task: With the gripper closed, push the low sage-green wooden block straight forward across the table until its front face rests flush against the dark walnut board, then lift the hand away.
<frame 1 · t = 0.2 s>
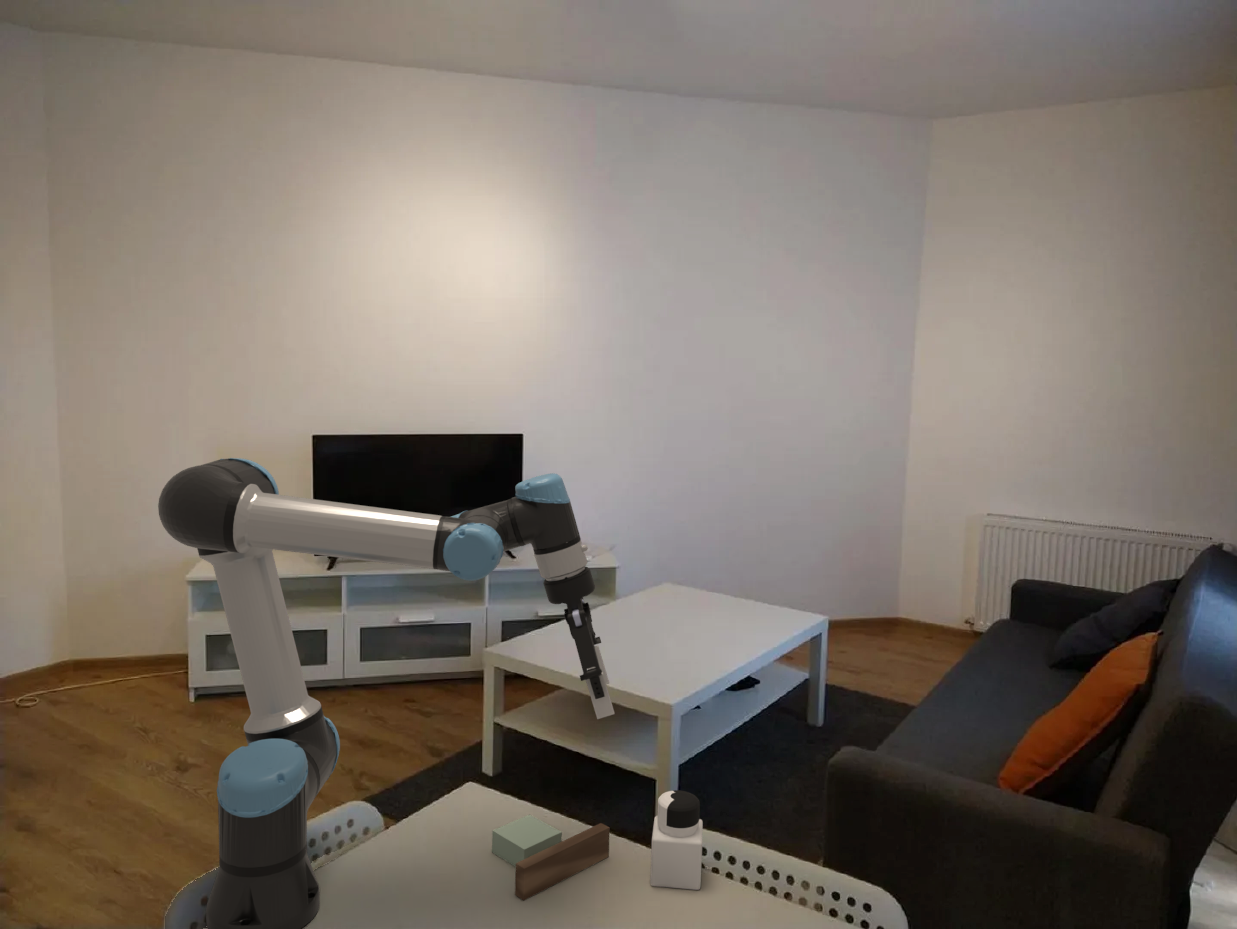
hand: (603, 700, 142), 27 cm above the table, tool tilted 20°, fingers open, 13 cm apart
board: (563, 875, 141), on the table
container: (675, 876, 142), on the table
block: (526, 854, 148), on the table
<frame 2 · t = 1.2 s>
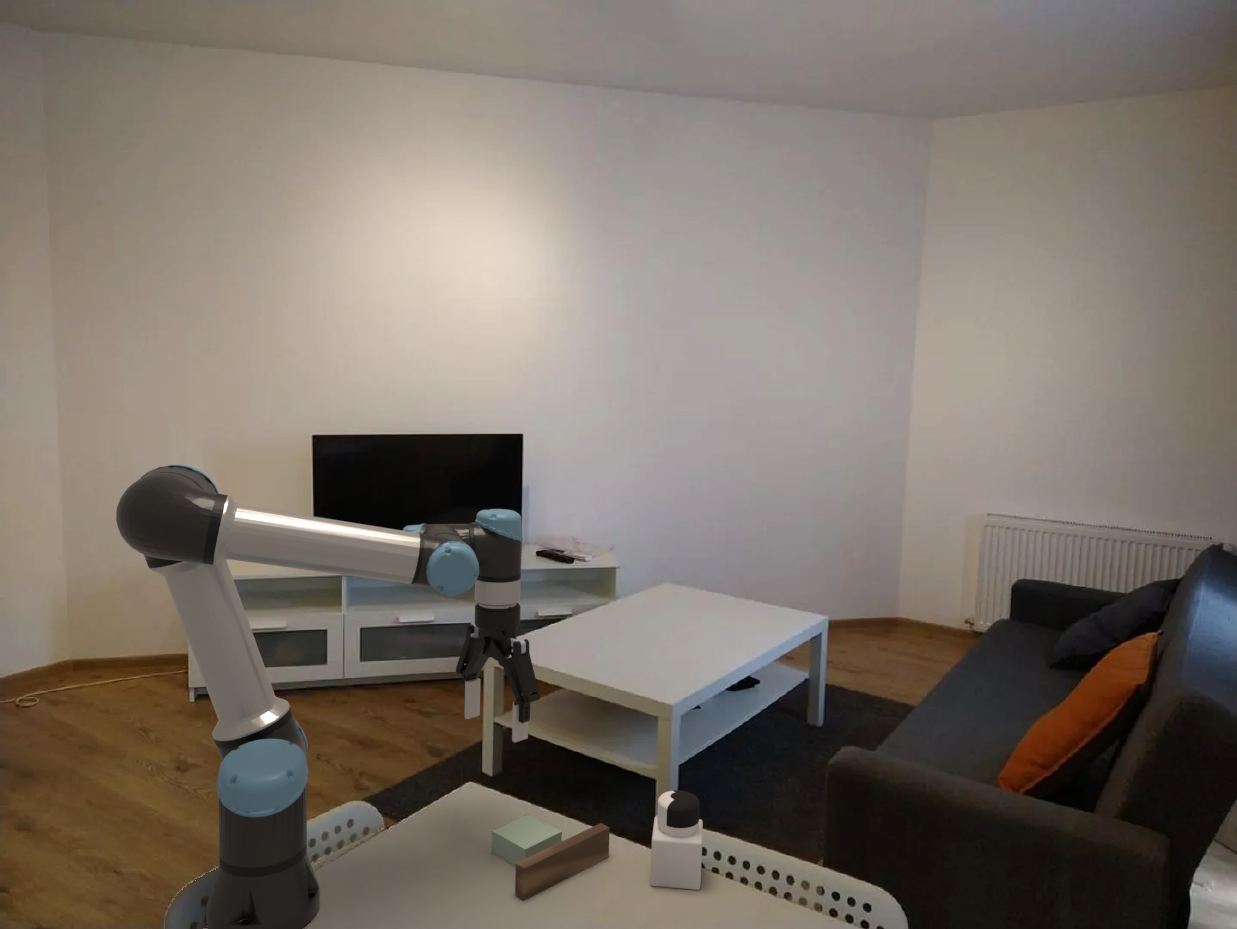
hand: (495, 728, 152), 18 cm above the table, tool pointing down, fingers open, 12 cm apart
nothing on the table moved.
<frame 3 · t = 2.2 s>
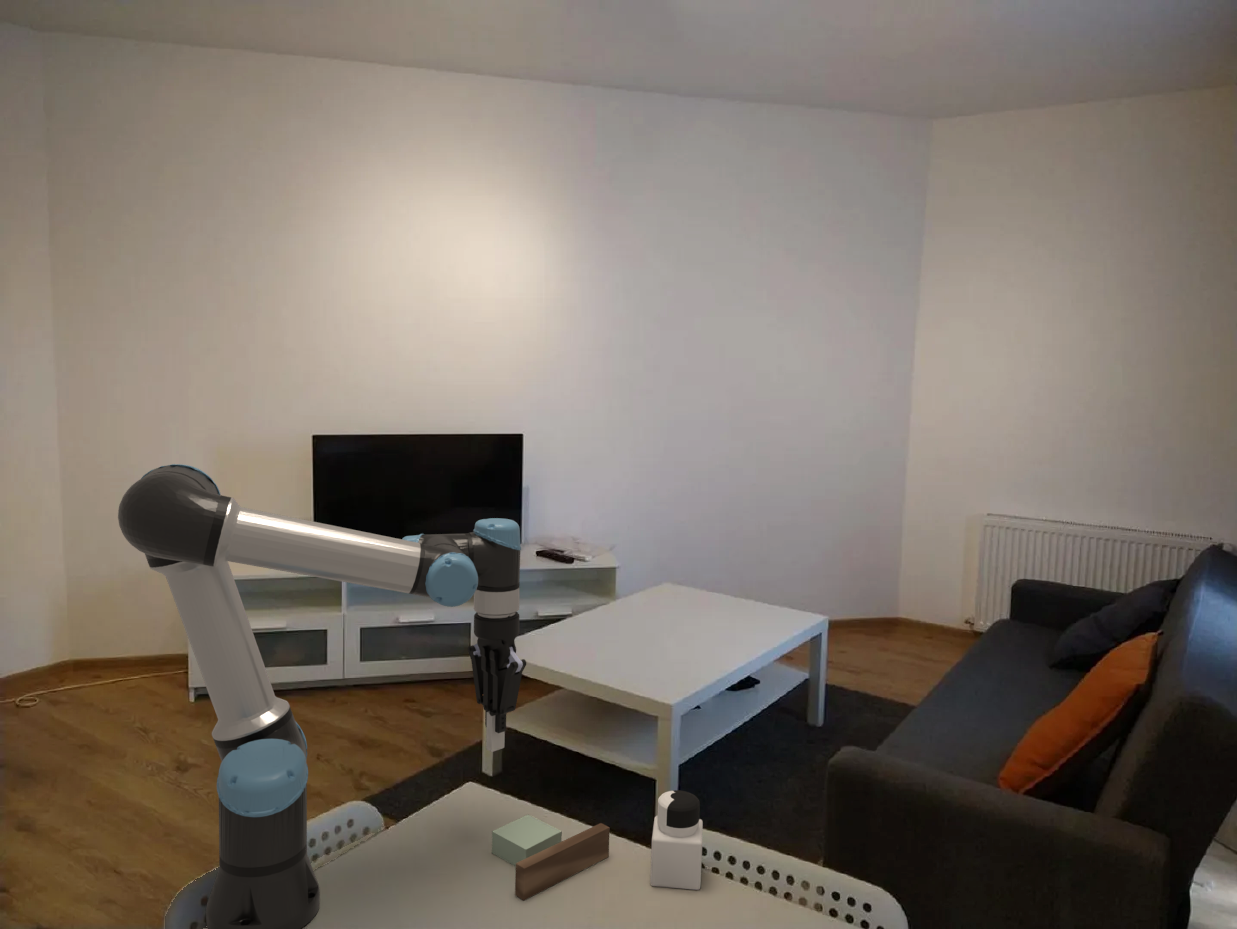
hand: (495, 748, 152), 15 cm above the table, tool pointing down, fingers closed
nothing on the table moved.
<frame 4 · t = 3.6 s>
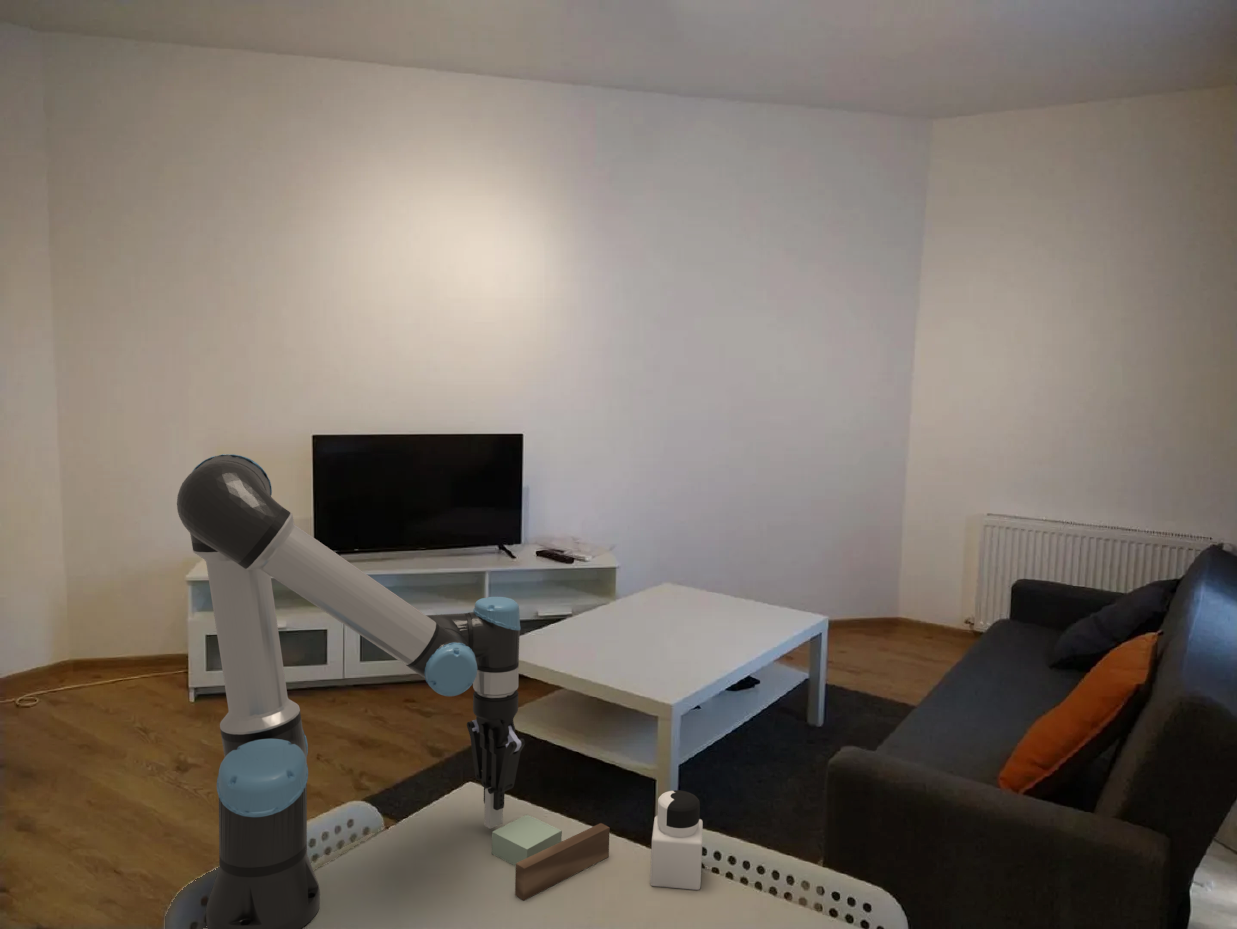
hand: (493, 824, 153), 1 cm above the table, tool pointing down, fingers closed
nothing on the table moved.
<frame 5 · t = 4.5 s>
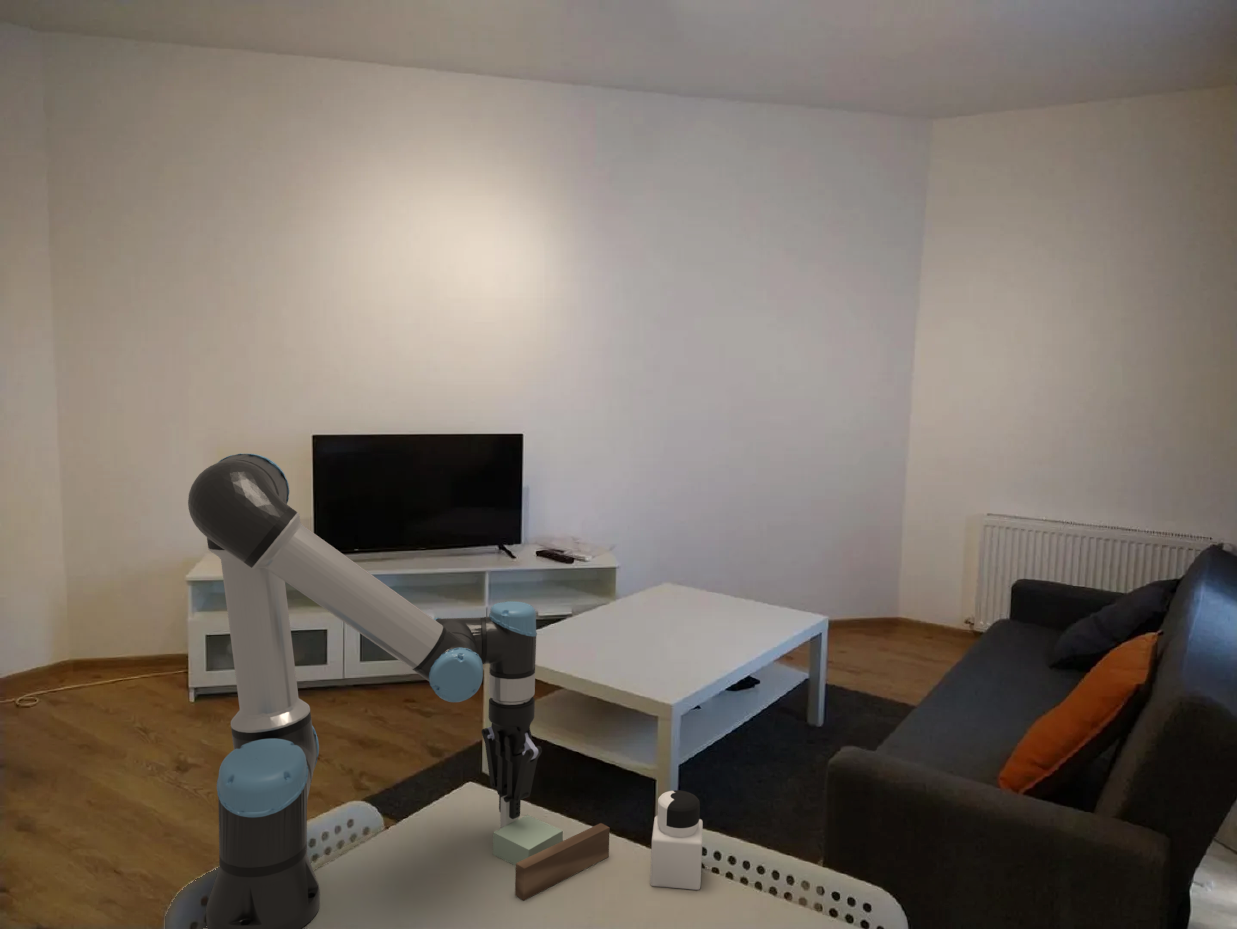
hand: (509, 833, 151), 1 cm above the table, tool pointing down, fingers closed
block: (527, 854, 147), on the table, touching gripper
everything else where it was.
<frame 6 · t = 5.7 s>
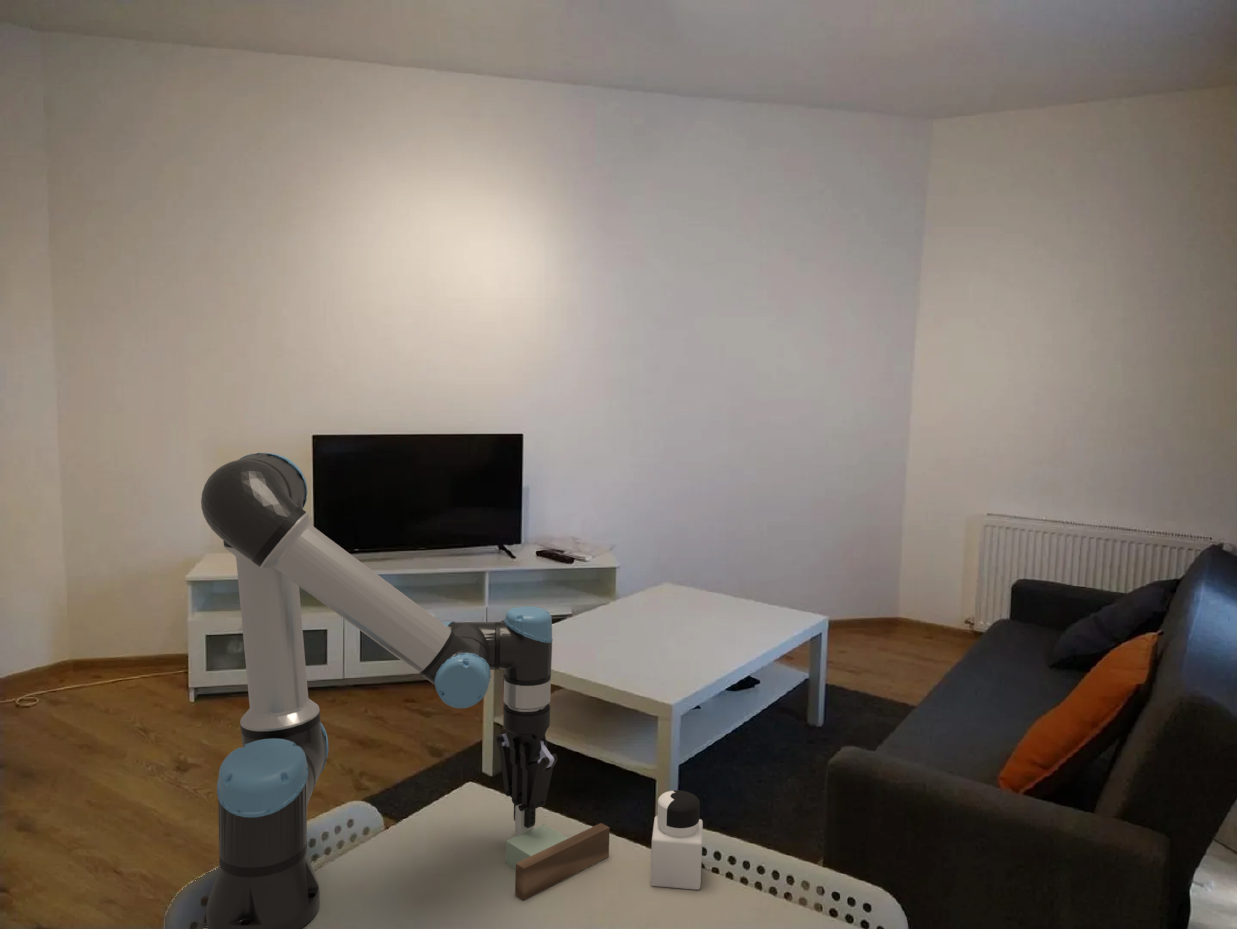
hand: (523, 842, 148), 1 cm above the table, tool pointing down, fingers closed
block: (540, 865, 145), on the table, touching board
everything else where it was.
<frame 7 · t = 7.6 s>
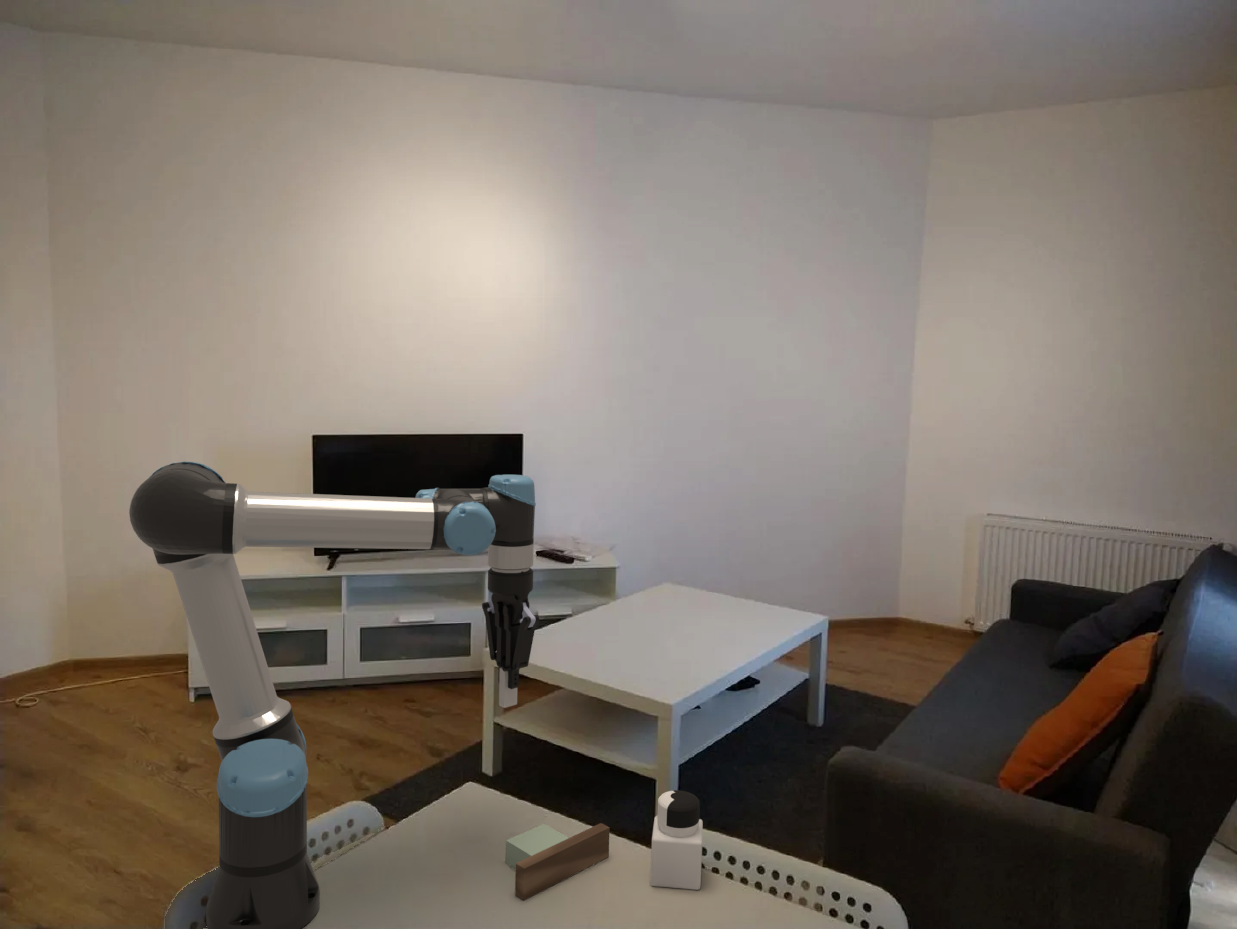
hand: (508, 704, 153), 22 cm above the table, tool pointing down, fingers closed
block: (540, 865, 145), on the table
everything else where it was.
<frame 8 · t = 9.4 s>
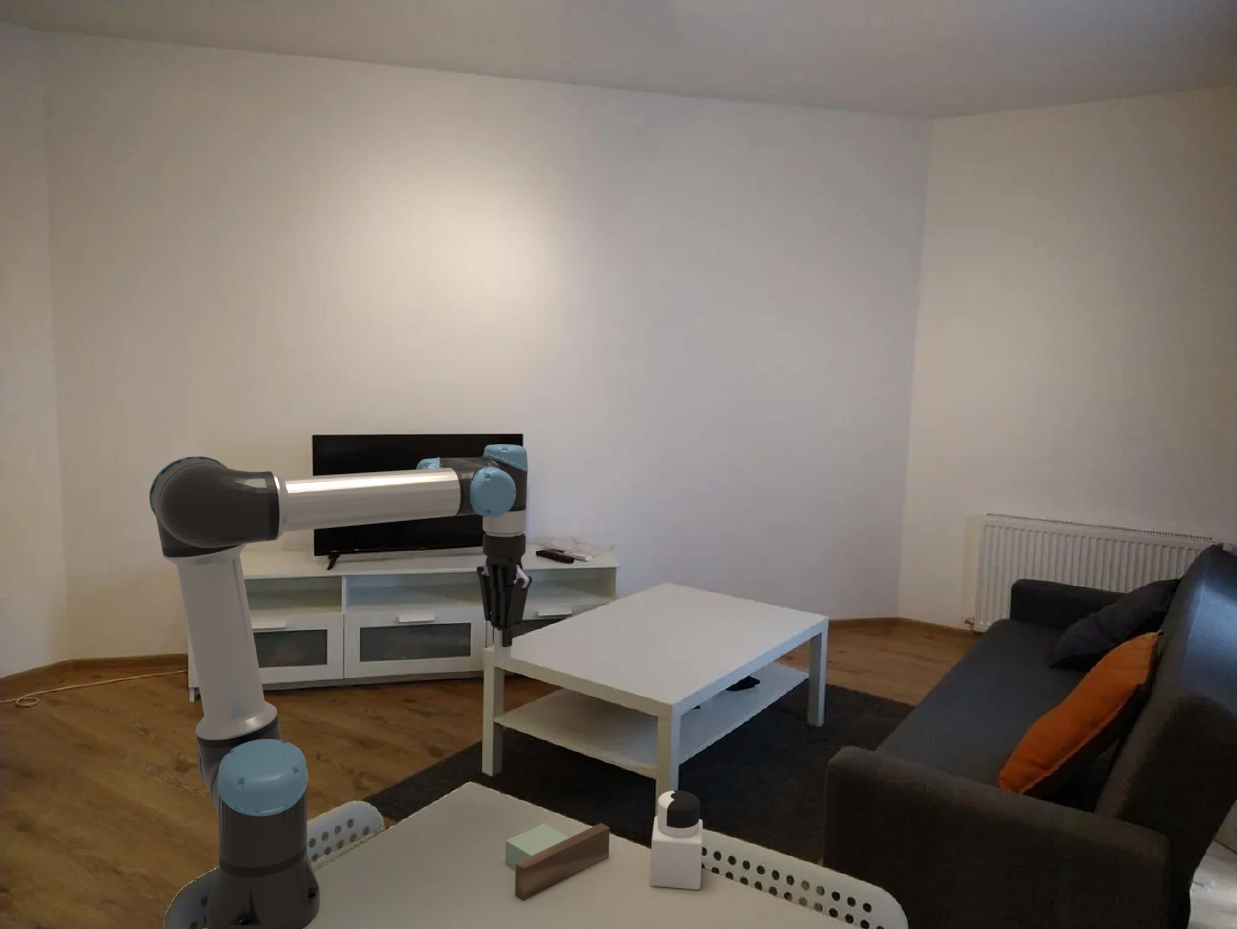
hand: (502, 662, 161), 26 cm above the table, tool pointing down, fingers closed
nothing on the table moved.
at the end: block 0.5 cm from the target spot on the table beside the board, on the table; block tilted 0° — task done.
